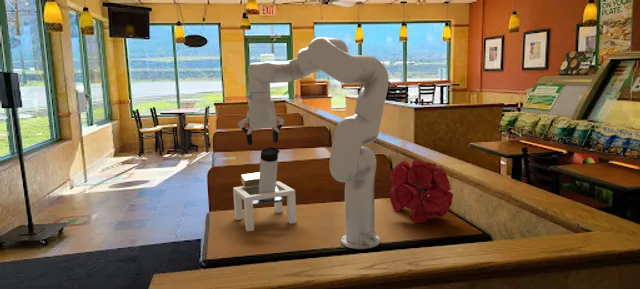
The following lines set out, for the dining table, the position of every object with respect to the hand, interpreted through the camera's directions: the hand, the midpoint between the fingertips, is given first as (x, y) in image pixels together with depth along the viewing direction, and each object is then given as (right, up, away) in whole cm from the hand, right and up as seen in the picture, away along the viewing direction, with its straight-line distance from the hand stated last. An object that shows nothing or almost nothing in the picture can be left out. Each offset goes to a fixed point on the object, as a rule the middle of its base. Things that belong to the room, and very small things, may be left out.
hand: (262, 143), depth 164 cm
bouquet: (+58, -28, +3) cm, 64 cm away
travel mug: (+1, -20, +4) cm, 21 cm away
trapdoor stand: (0, -30, +7) cm, 30 cm away
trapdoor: (-1, -19, +7) cm, 20 cm away
